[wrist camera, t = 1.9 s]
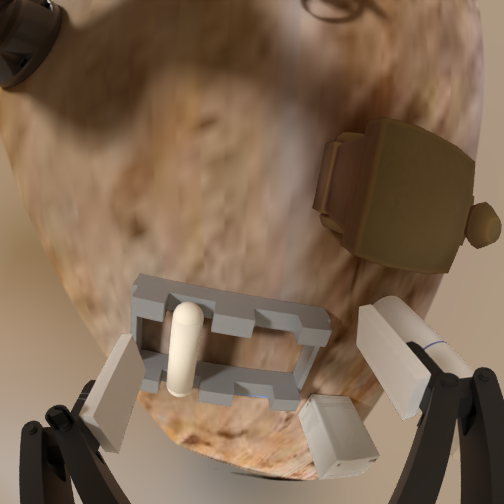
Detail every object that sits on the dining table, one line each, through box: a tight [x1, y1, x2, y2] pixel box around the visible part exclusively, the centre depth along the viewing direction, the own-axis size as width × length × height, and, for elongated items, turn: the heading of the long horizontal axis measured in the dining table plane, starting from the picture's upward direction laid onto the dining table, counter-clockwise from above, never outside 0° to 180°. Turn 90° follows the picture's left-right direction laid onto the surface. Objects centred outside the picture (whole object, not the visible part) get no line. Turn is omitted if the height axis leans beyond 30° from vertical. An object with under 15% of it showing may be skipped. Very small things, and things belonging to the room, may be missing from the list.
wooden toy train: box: [312, 117, 501, 274], centre depth 26 cm, size 20×11×17 cm, turn 79°
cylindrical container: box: [372, 296, 475, 459], centre depth 28 cm, size 7×7×25 cm
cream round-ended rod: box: [167, 302, 204, 397], centre depth 33 cm, size 4×14×4 cm, turn 167°
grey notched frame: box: [130, 274, 332, 411], centre depth 36 cm, size 25×15×6 cm, turn 77°
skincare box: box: [299, 394, 380, 480], centre depth 37 cm, size 8×6×15 cm
